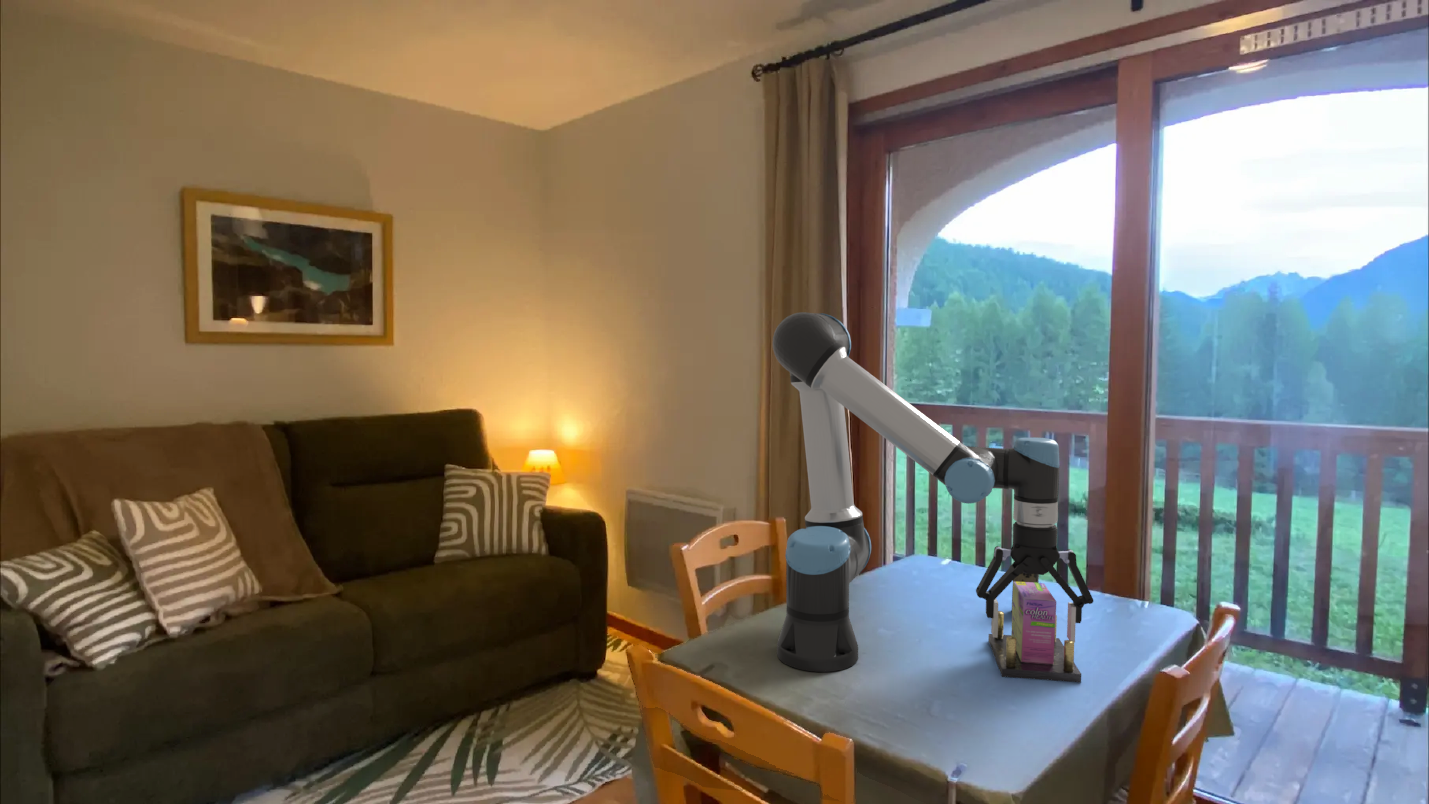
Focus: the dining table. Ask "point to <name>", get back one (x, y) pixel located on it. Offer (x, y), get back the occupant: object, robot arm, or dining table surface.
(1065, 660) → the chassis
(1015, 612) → the box
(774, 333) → the robot arm
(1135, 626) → the dining table surface
